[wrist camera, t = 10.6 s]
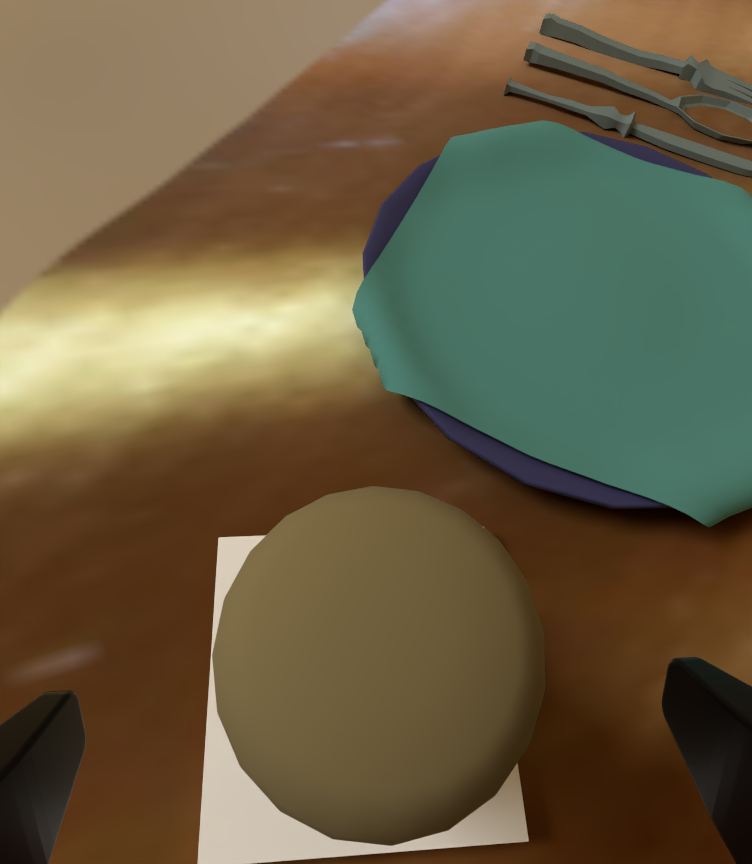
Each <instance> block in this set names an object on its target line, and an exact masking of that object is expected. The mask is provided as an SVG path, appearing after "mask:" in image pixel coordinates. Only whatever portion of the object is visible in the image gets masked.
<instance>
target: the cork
mask: <svg viewBox="0 0 752 864" xmlns="http://www.w3.org/2000/svg"><path fill="white" fill-rule="evenodd" d="M212 660H213V671H214V682H215V694H216V705H217V713H218V716H219V718H220V720H221V723H222V725H223V727H224V730H225V732H226V735H227V737H228V739H229V742H230V744H231V746H232V749H233V751H234V753H235V756H236V758H237V761H238V763H239V765H240V767H241V768H242V770H243V771H244V772H245V773H246V774H247V775H248V776H249V777H250V778H251V780H252V781H253V782H254V783H255V784H256V785H257V786H258V787H259V789H260V790H261V791H262V792H263V793H264V794H265V795H266V796H267V797H268V799H269V800H270V801H271V802H272V803H273V804H274V805H275V806H276V808H277V809H278V810H279V811H280V812H282V813H284V814H286V815H288V816H289V817H291V818H293V819H295V820H297V821H299V822H301V823H303V824H305V825H307V826H308V827H310V828H312V829H314V830H316V831H318V832H320V833H322V834H324V835H325V836H327V837H329V838H331V839H334V840H343V841H352V842H361V843H370V844H378V845H387V846H393V845H397V844H401V843H404V842H408V841H412V840H415V839H419V838H423V837H426V836H430V835H433V834H437V833H441V832H444V831H448V830H450V829H451V828H452V827H454V826H455V825H456V824H458V823H459V822H460V821H462V820H463V819H465V818H466V817H467V816H469V815H470V814H471V813H473V812H474V811H475V810H477V809H478V808H479V807H481V806H482V805H483V804H485V803H486V802H488V801H489V800H490V799H492V798H493V797H494V796H496V794H497V793H498V791H499V790H500V788H501V787H502V785H503V784H504V782H505V781H506V779H507V778H508V776H509V775H510V773H511V772H512V770H513V769H514V767H515V766H516V764H517V763H518V761H519V760H520V758H521V757H522V755H523V754H524V752H525V751H526V749H527V748H528V746H529V745H530V743H531V740H532V737H533V733H534V729H535V726H536V722H537V719H538V715H539V711H540V708H541V704H542V701H543V697H544V693H545V690H546V671H545V636H544V630H543V627H542V624H541V621H540V618H539V615H538V612H537V609H536V605H535V602H534V599H533V596H532V593H531V590H530V587H529V584H528V582H527V580H526V579H525V577H524V576H523V574H522V573H521V571H520V570H519V568H518V567H517V566H516V564H515V563H514V561H513V560H512V558H511V557H510V555H509V554H508V552H507V551H506V549H505V548H504V546H503V545H502V544H501V542H500V541H499V540H498V539H497V538H496V537H495V536H493V535H492V534H491V533H490V532H489V531H487V530H486V529H485V528H484V527H483V526H481V525H480V524H479V523H478V522H476V521H475V520H474V519H473V518H472V517H470V516H469V515H468V514H467V513H466V512H464V511H463V510H462V509H459V508H457V507H455V506H452V505H450V504H448V503H445V502H443V501H441V500H438V499H436V498H434V497H431V496H429V495H427V494H424V493H422V492H420V491H412V490H403V489H394V488H385V487H376V486H371V487H366V488H360V489H355V490H350V491H344V492H339V493H334V494H328V495H326V496H324V497H322V498H320V499H318V500H316V501H314V502H313V503H311V504H309V505H307V506H305V507H303V508H301V509H299V510H297V511H295V512H293V513H291V514H290V515H288V516H286V517H285V518H284V519H283V520H282V521H280V522H279V523H278V524H277V525H276V526H275V527H274V528H273V529H272V530H271V531H270V532H269V533H268V534H267V535H266V536H265V537H264V538H263V539H262V540H261V541H260V542H259V543H258V544H257V545H256V546H255V547H254V548H253V549H252V550H251V551H250V552H249V554H248V556H247V558H246V560H245V562H244V563H243V565H242V567H241V569H240V571H239V572H238V574H237V576H236V578H235V580H234V582H233V583H232V585H231V587H230V589H229V591H228V592H227V594H226V596H225V598H224V601H223V606H222V611H221V615H220V620H219V625H218V630H217V634H216V639H215V644H214V648H213V653H212Z"/></svg>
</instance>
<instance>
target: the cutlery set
mask: <svg viewBox="0 0 752 864" xmlns="http://www.w3.org/2000/svg"><path fill="white" fill-rule="evenodd" d="M540 33H541V34H543V35H545V36H550V37H556V38H559V39H563V40H566V41H570V42H573V43H576V44H578V45H580V46H583V47H585V48H587V49H590V50H592V51H595V52H598V53H602V54H605V55H608V56H611V57H615V58H618V59H621V60H624V61H627V62H631V63H634V64H637V65H640V66H644V67H649V68H655V69H660V70H664V71H669V72H673V73H677V74H679V79H682V80H688V81H691V83H692V85H693V87H694V88H695V89H696V90H699V91H703V92H707V93H711V94H715V95H718V96H721V97H725V98H729V99H732V100H736V101H740V102H743V103H747V104H751V105H752V85H750V84H748V83H746V82H744V81H742V80H740V79H738V78H736V77H733V76H731V75H729V74H727V73H724V72H722V71H719V70H717V69H715V68H714V67H712V66H711V65H710V64H709V62H708V60H705V61H703V62H700V63H698V62H697V61H696V60H695V59H694V58H693V57H692V56H690V57H689V58H688V59H687V60H686V61H681V60H678V59H674V58H671V57H667V56H664V55H659V54H654V53H649V52H645V51H640V50H638V49H635V48H632V47H630V46H627V45H624V44H622V43H619V42H617V41H614V40H612V39H609V38H607V37H604V36H602V35H600V34H598V33H596V32H594V31H592V30H590V29H588V28H585V27H583V26H581V25H579V24H576V23H573V22H570V21H567V20H564V19H561V18H559V17H558V16H556V15H554V14H546V16H545V17H544V19H543V22H542V26H541V29H540ZM524 61H527V62H530V63H535V64H539V65H543V66H547V67H551V68H555V69H559V70H562V71H565V72H569V73H572V74H575V75H578V76H581V77H585V78H588V79H591V80H595V81H598V82H601V83H604V84H606V85H609V86H611V87H614V88H616V89H618V90H621V91H623V92H626V93H629V94H632V95H634V96H637V97H640V98H643V99H646V100H648V101H651V102H653V103H655V104H658V105H660V106H662V107H664V108H667V109H669V110H671V111H673V112H675V113H678V114H679V115H680V116H681V117H682V118H683V119H684V120H685V121H687V122H688V123H689V124H690V125H691V126H692V127H693V128H694V129H696V130H698V131H700V132H702V133H704V134H706V135H708V136H710V137H713V138H715V139H718V140H723V141H728V142H733V143H738V144H752V141H751V140H747V139H742V138H737V137H733V136H728V135H723V134H721V133H719V132H717V131H714V130H712V129H710V128H708V127H706V126H704V125H701V124H699V123H697V122H695V121H694V120H693V119H692V118H690V117H689V116H688V115H687V114H686V113H685V108H688V107H693V106H699V105H704V106H710V107H716V108H722V109H726V110H728V111H730V112H733V113H735V114H737V115H739V116H742V117H744V118H746V119H748V120H749V121H750V122H751V123H752V109H750V108H748V107H745V106H743V105H741V104H739V103H736V102H734V101H731V100H727V99H722V98H717V97H712V96H707V95H690V96H680V97H678V98H675V99H673V100H669V99H667V98H665V97H663V96H661V95H659V94H657V93H655V92H654V91H652V90H650V89H647V88H645V87H642V86H640V85H638V84H635V83H633V82H631V81H628V80H626V79H624V78H622V77H620V76H618V75H616V74H614V73H612V72H610V71H608V70H605V69H603V68H600V67H597V66H595V65H592V64H589V63H586V62H584V61H581V60H578V59H576V58H573V57H571V56H568V55H565V54H563V53H560V52H557V51H555V50H552V49H550V48H547V47H544V46H542V45H540V44H538V43H535V42H530V44H529V46H528V47H527V49H526V53H525V56H524ZM508 92H513V93H517V94H520V95H524V96H528V97H532V98H535V99H539V100H543V101H547V102H549V103H552V104H555V105H558V106H560V107H563V108H566V109H569V110H572V111H575V112H578V113H581V114H584V115H587V116H588V117H589V118H590V119H592V120H593V121H594V122H595V123H597V124H598V125H599V126H600V127H602V128H603V129H609V128H616V129H617V130H618V131H619V132H620V133H621V135H622V136H623V138H624V137H626V136H628V135H629V134H632V135H634V136H636V137H639V138H641V139H643V140H645V141H648V142H650V143H652V144H655V145H657V146H659V147H662V148H664V149H667V150H669V151H672V152H675V153H677V154H680V155H683V156H686V157H689V158H692V159H695V160H697V161H700V162H703V163H706V164H709V165H712V166H715V167H718V168H721V169H724V170H727V171H730V172H733V173H736V174H740V175H744V176H750V177H752V161H749V160H746V159H743V158H740V157H737V156H734V155H731V154H728V153H725V152H722V151H719V150H716V149H713V148H710V147H707V146H704V145H701V144H698V143H695V142H692V141H689V140H686V139H683V138H680V137H678V136H675V135H672V134H669V133H666V132H663V131H660V130H657V129H654V128H651V127H648V126H645V125H642V124H639V123H636V122H635V114H636V111H635V112H634V113H632V114H631V115H628V116H626V115H622V114H620V113H619V112H618V110H617V109H616V108H615V107H614V106H587V105H584V104H581V103H578V102H575V101H572V100H569V99H564V98H560V97H555V96H551V95H547V94H544V93H542V92H539V91H537V90H534V89H531V88H529V87H526V86H523V85H521V84H518V83H516V82H513V80H512V78H510V79H509V81H508V83H507V85H506V89H505V93H504V95H506V94H507V93H508ZM363 270H364V280H363V282H362V284H361V286H360V288H359V290H358V291H357V294H356V298H355V302H354V305H353V309H352V310H353V314H354V317H355V320H356V324H357V327H358V328H359V329H360V330H361V331H362V334H363V337H364V340H365V344H366V346H367V347H368V348H369V349H370V352H371V355H372V358H373V362H374V365H375V367H377V368H378V369H379V373H380V376H381V380H382V384H383V387H384V388H385V389H386V390H388V391H391V392H394V393H398V394H402V395H405V396H408V397H410V398H411V399H412V400H413V401H414V402H415V403H416V404H417V405H418V406H419V407H420V408H421V410H422V411H423V412H424V413H425V414H426V415H427V416H428V417H429V418H430V419H431V420H432V421H433V423H434V424H435V425H436V426H437V427H438V428H439V429H440V430H441V431H442V432H443V433H444V435H445V436H446V437H447V438H448V439H449V440H451V441H453V442H454V443H456V444H458V445H459V446H461V447H463V448H464V449H466V450H468V451H469V452H471V453H473V454H474V455H476V456H478V457H479V458H481V459H482V460H484V461H486V462H487V463H489V464H491V465H492V466H494V467H496V468H497V469H499V470H501V471H502V472H504V473H506V474H507V475H509V476H511V477H512V478H514V479H516V480H517V481H519V482H520V483H522V484H524V485H527V486H530V487H534V488H537V489H541V490H545V491H548V492H552V493H555V494H559V495H563V496H566V497H570V498H573V499H577V500H581V501H584V502H588V503H591V504H595V505H598V506H602V507H606V508H609V509H644V508H675V509H677V510H679V511H681V512H683V513H685V514H687V515H689V516H691V517H692V518H694V519H696V520H697V521H699V522H700V523H702V524H704V525H705V526H707V527H711V526H713V525H715V524H717V523H718V522H720V521H722V520H724V519H726V518H728V517H730V516H732V515H735V514H737V513H740V512H742V511H745V510H748V509H750V508H752V195H750V194H749V193H748V192H746V191H745V190H743V189H742V188H741V187H738V186H735V185H733V184H730V183H727V182H724V181H720V180H716V179H713V178H712V177H710V176H709V175H708V174H706V173H704V172H702V171H699V170H697V169H695V168H693V167H690V166H688V165H686V164H684V163H682V162H679V161H677V160H675V159H673V158H671V157H668V156H666V155H664V154H662V153H659V152H657V151H655V150H653V149H651V148H648V147H645V146H641V145H637V144H633V143H629V142H624V141H620V140H616V139H612V138H608V137H603V136H599V135H595V134H591V133H586V132H577V131H575V130H573V129H571V128H569V127H566V126H564V125H561V124H559V123H555V122H549V121H537V122H531V123H524V124H518V125H511V126H505V127H500V128H494V129H489V130H485V131H480V132H475V133H470V134H465V135H460V136H456V137H452V138H451V139H450V140H449V142H448V143H447V144H446V146H445V148H444V149H443V151H442V153H441V155H439V156H437V157H435V158H433V159H431V160H429V161H427V162H425V163H423V164H421V165H419V166H418V167H417V168H416V169H415V170H414V171H413V172H412V173H411V174H410V175H409V176H408V177H407V178H406V179H405V180H404V182H403V183H402V184H401V185H400V186H399V187H398V188H397V189H396V190H395V191H394V192H393V193H392V194H391V195H390V196H389V197H388V198H387V199H386V200H385V201H384V202H383V203H382V205H381V208H380V210H379V213H378V216H377V218H376V221H375V223H374V226H373V228H372V231H371V234H370V236H369V239H368V241H367V244H366V246H365V249H364V252H363Z"/></svg>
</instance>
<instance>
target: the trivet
mask: <svg viewBox="0 0 752 864" xmlns="http://www.w3.org/2000/svg"><path fill="white" fill-rule="evenodd" d="M483 527H484V526H483ZM264 537H265V536H244V537H220V538H219V539H218V555H217V570H216V586H215V602H214V617H213V633H212V648H211V664H210V679H209V695H208V710H207V726H206V742H205V757H204V773H203V788H202V804H201V819H200V835H199V850H198V864H252V863H264V862H277V861H290V860H302V859H315V858H327V857H340V856H352V855H365V854H377V853H390V852H403V851H415V850H428V849H440V848H453V847H465V846H478V845H490V844H503V843H515V842H528V841H529V839H528V832H527V825H526V818H525V811H524V804H523V797H522V790H521V783H520V776H519V769H518V763H517V764H516V766H515V767H514V769H513V770H512V772H511V773H510V775H509V776H508V778H507V779H506V781H505V782H504V784H503V785H502V787H501V788H500V790H499V791H498V793H497V794H496V796H494V797H493V798H492V799H490V800H489V801H488V802H486V803H485V804H483V805H482V806H481V807H479V808H478V809H477V810H475V811H474V812H473V813H471V814H470V815H469V816H467V817H466V818H465V819H463V820H462V821H460V822H459V823H458V824H456V825H455V826H454V827H452V828H451V829H450V830H448V831H444V832H441V833H437V834H433V835H430V836H426V837H423V838H419V839H415V840H412V841H408V842H404V843H401V844H397V845H393V846H387V845H378V844H370V843H361V842H352V841H343V840H334V839H331V838H329V837H327V836H325V835H324V834H322V833H320V832H318V831H316V830H314V829H312V828H310V827H308V826H307V825H305V824H303V823H301V822H299V821H297V820H295V819H293V818H291V817H289V816H288V815H286V814H284V813H282V812H280V811H279V810H278V809H277V808H276V806H275V805H274V804H273V803H272V802H271V801H270V800H269V799H268V797H267V796H266V795H265V794H264V793H263V792H262V791H261V790H260V789H259V787H258V786H257V785H256V784H255V783H254V782H253V781H252V780H251V778H250V777H249V776H248V775H247V774H246V773H245V772H244V771H243V770H242V768H241V767H240V765H239V763H238V761H237V758H236V756H235V753H234V751H233V749H232V746H231V744H230V742H229V739H228V737H227V735H226V732H225V730H224V727H223V725H222V723H221V720H220V718H219V716H218V713H217V705H216V694H215V682H214V671H213V660H212V653H213V648H214V644H215V639H216V634H217V630H218V625H219V620H220V615H221V611H222V606H223V601H224V598H225V596H226V594H227V592H228V591H229V589H230V587H231V585H232V583H233V582H234V580H235V578H236V576H237V574H238V572H239V571H240V569H241V567H242V565H243V563H244V562H245V560H246V558H247V556H248V554H249V552H250V551H251V550H252V549H253V548H254V547H255V546H256V545H257V544H258V543H259V542H260V541H261V540H262V539H263V538H264Z"/></svg>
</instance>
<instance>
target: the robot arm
mask: <svg viewBox="0 0 752 864" xmlns="http://www.w3.org/2000/svg"><path fill="white" fill-rule="evenodd" d="M662 709H663V713H664V717H665V719H666V721H667V724H668V726H669V728H670V730H671V732H672V735H673V737H674V739H675V741H676V743H677V746H678V748H679V750H680V752H681V754H682V756H683V759H684V761H685V763H686V765H687V767H688V770H689V772H690V774H691V776H692V778H693V781H694V783H695V785H696V787H697V789H698V792H699V794H700V796H701V798H702V800H703V802H704V804H705V806H706V809H707V811H708V813H709V815H710V817H711V819H712V821H713V822H714V824H715V826H716V828H717V830H718V832H719V833H720V835H721V837H722V839H723V841H724V842H725V844H726V846H727V848H728V849H729V851H730V853H731V855H732V856H733V858H734V860H735V862H736V863H737V864H752V687H751V686H749V685H747V684H746V683H744V682H742V681H740V680H738V679H737V678H735V677H733V676H731V675H729V674H728V673H726V672H724V671H722V670H720V669H719V668H717V667H715V666H713V665H712V664H710V663H708V662H706V661H704V660H702V659H700V658H697V657H689V658H675V659H673V660H671V661H670V663H669V665H668V669H667V674H666V680H665V685H664V691H663V696H662ZM85 743H86V734H85V728H84V723H83V718H82V713H81V709H80V704H79V699H78V696H77V694H76V693H75V692H73V691H70V690H68V691H50V692H45V693H43V694H42V695H40V696H38V697H37V698H36V699H34V700H33V701H32V702H30V703H29V704H28V705H26V706H25V707H23V708H22V709H21V710H19V711H18V712H17V713H15V714H14V715H13V716H11V717H10V718H9V719H7V720H6V721H5V722H3V723H2V724H0V864H48V863H49V860H50V857H51V854H52V852H53V849H54V846H55V842H56V839H57V836H58V833H59V830H60V827H61V823H62V820H63V817H64V814H65V811H66V808H67V804H68V801H69V798H70V795H71V792H72V788H73V785H74V782H75V779H76V776H77V773H78V769H79V766H80V763H81V760H82V757H83V753H84V750H85Z"/></svg>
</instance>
